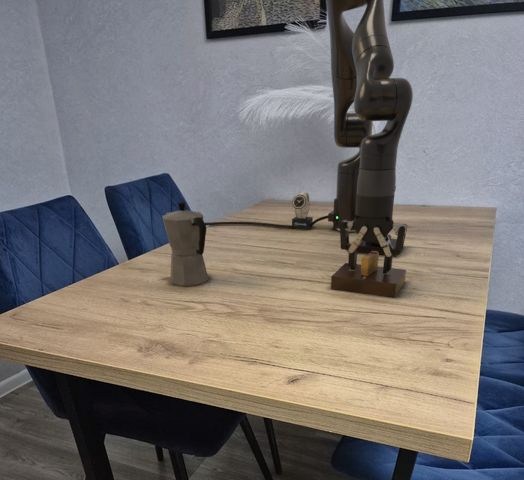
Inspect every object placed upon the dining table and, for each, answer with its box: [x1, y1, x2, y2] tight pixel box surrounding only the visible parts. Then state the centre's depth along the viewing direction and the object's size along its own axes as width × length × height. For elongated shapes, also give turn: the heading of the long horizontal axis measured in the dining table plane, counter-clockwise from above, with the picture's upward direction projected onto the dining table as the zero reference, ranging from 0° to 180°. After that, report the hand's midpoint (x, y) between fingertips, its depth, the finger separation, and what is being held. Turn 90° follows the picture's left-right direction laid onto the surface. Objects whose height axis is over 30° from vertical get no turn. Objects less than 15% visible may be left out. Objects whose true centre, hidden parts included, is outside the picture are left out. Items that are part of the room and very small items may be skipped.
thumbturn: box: [360, 251, 380, 276], centre depth 102 cm, size 5×2×4 cm, turn 142°
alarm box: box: [356, 233, 398, 258], centre depth 128 cm, size 12×10×4 cm
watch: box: [291, 191, 314, 231], centre depth 151 cm, size 6×8×11 cm
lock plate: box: [330, 262, 407, 298], centre depth 104 cm, size 14×10×3 cm
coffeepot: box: [161, 201, 209, 287], centre depth 107 cm, size 15×9×18 cm, turn 39°
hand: (369, 270), depth 103 cm, fingers open, 6 cm apart
